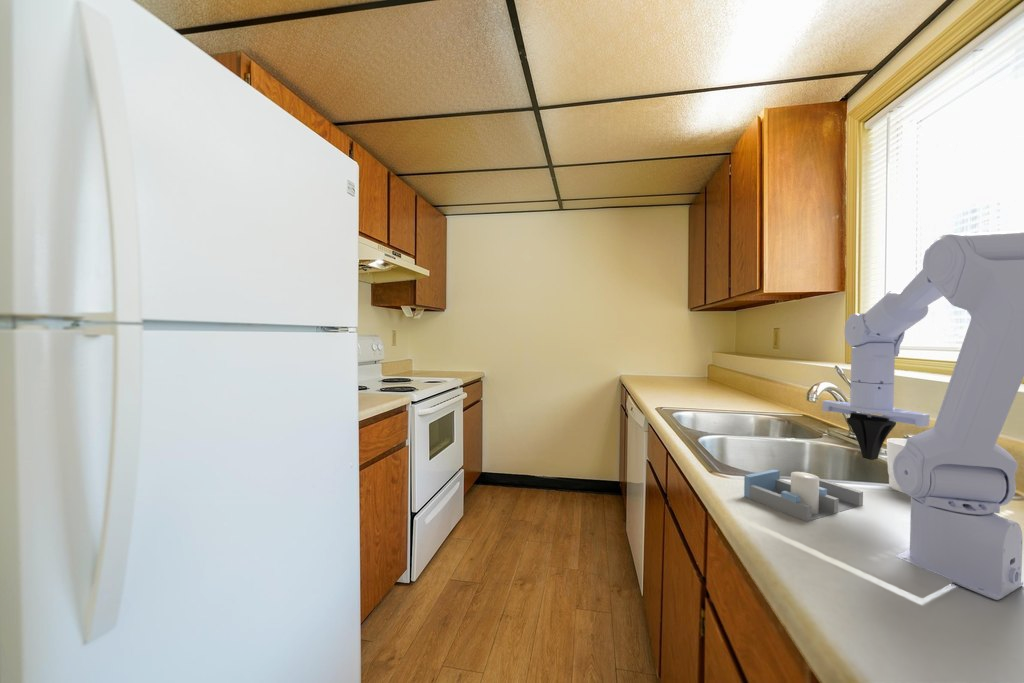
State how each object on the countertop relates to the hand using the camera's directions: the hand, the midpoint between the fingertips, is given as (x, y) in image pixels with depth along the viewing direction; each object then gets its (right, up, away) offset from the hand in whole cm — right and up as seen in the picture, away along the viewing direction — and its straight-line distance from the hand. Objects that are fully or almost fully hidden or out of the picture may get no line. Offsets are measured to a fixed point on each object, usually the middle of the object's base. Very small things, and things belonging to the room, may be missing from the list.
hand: (870, 458), depth 70 cm
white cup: (+16, -10, +8) cm, 20 cm away
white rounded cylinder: (-12, -9, -1) cm, 15 cm away
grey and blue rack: (-10, -9, +2) cm, 14 cm away
